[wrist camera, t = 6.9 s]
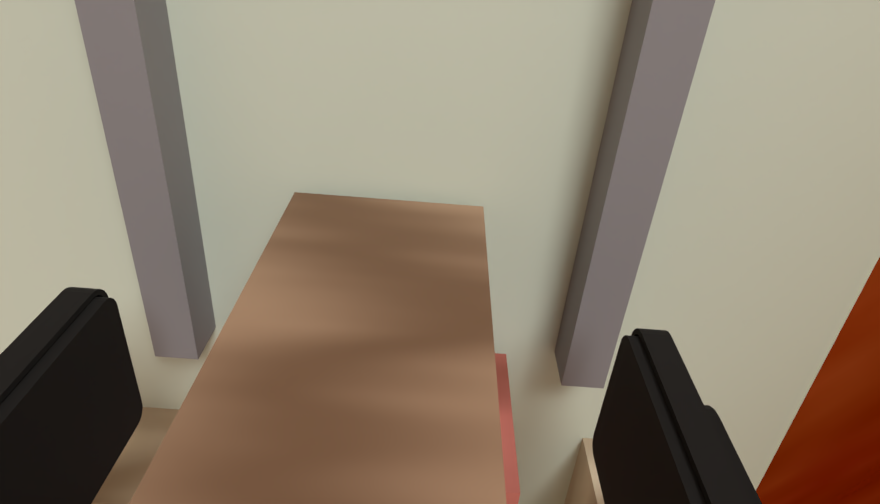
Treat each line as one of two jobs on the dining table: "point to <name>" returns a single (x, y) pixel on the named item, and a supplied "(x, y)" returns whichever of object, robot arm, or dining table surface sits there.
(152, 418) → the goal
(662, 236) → the board
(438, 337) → the block
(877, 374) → the dining table surface
